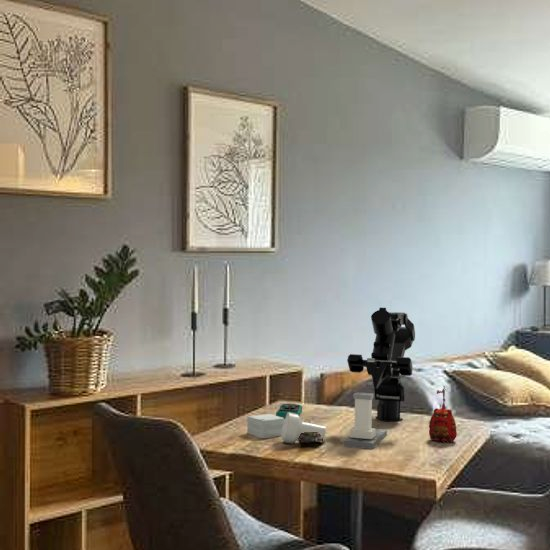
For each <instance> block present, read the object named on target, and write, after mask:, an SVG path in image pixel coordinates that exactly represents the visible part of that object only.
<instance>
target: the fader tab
mask: <svg viewBox="0 0 550 550" xmlns="http://www.w3.org/2000/svg"><path fill="white" fill-rule="evenodd" d="M353 399H354V426H353V427H351V429H350V430H349V435H350V437H352V438H363V439H373V438H374V437H375V436H376V429H377V427H376V428H374V427H372V421H373V419H372V418H373V417H372V416H373V415H372V414H373V412H372V411H373V399H375V392H374V393H373V392H371V393H370V392H358V391H357V392H355V393H353Z"/></svg>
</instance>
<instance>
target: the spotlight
mask: <svg viewBox="0 0 550 550" xmlns="http://www.w3.org/2000/svg"><path fill="white" fill-rule="evenodd" d="M304 432H318V433H320V435H321V436H322V438H323V441H324V440H325V437H326V426H325V425H322V424H317V423H311V422H306V421H303V420H302V419H301V417H299V415H298V414H294V413H290V412H288V413H287V415H286V418H285V419H284V424H283V429H282V436H281V442H282V443H286V444H290V443H291V444H294V443H295V442H297V441H298V440H299V439H298V438H299V436H300V434H301V433H304ZM291 444H290V445H291Z"/></svg>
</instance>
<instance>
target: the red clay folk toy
mask: <svg viewBox="0 0 550 550" xmlns="http://www.w3.org/2000/svg"><path fill="white" fill-rule="evenodd" d="M446 390H447V389H446V387H445V385H443V389H442V390H438V389H437V390H436V394H442V406H441V408H437V407H436V408H434V409H433V413H432V415H431V417H430V419H429V422H428V423H429V425H428V428H429V429H428V435H429V440H431V441H436V442H442V443H453V442H454V441H456V438H457V436H458V435H457V434H458V433H457V432H458V431H457V423H456V420H455V418H454V415H453V411H452V409H446V404H445V402H446V398H445V397H446V396H445V395H446Z"/></svg>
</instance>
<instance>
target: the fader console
mask: <svg viewBox="0 0 550 550" xmlns="http://www.w3.org/2000/svg"><path fill="white" fill-rule="evenodd" d="M387 433H388V430H387V429H380V428H379V429H377V428H376V436H375V437H374V438H373V439H363V438H352V437H350V434H349V435H348V436H347V437H346V438H345V439H344V440H343V447H348V448H349V447H351V448H359V449H371V450H373V449H375V448H376V446H377V445H378V444H380V443H381V442H382V441H383V440H384V439H386V437H387V435H388V434H387Z"/></svg>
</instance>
